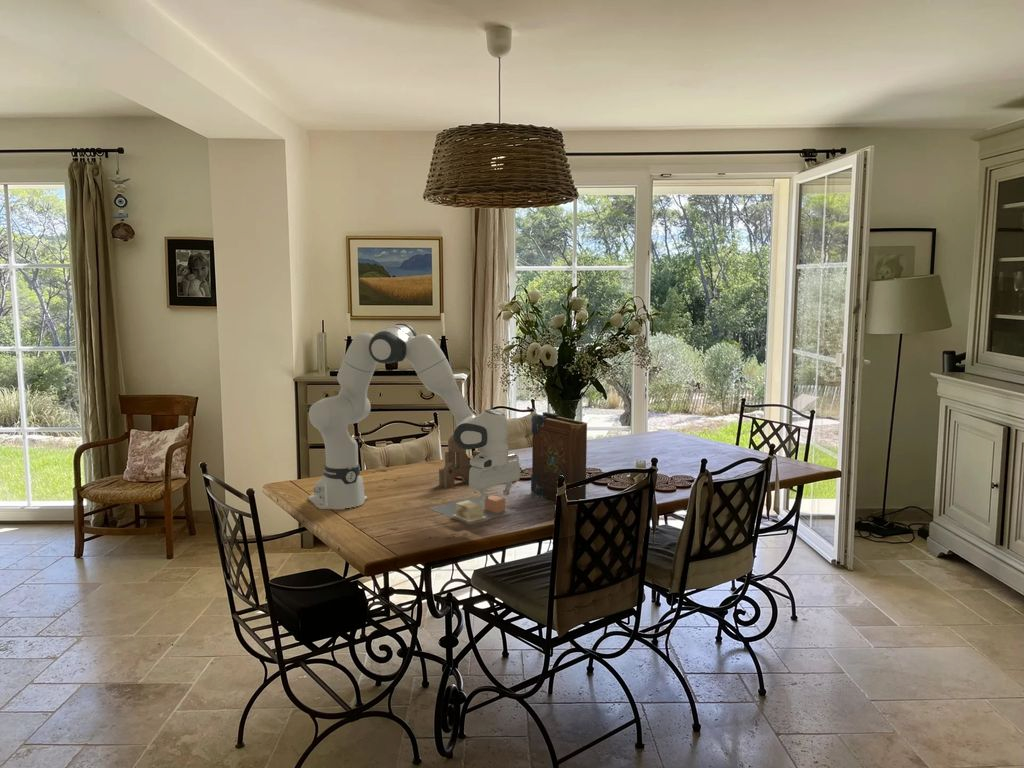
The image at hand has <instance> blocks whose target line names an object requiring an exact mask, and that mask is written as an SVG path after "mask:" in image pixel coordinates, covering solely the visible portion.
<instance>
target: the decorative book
mask: <svg viewBox="0 0 1024 768" xmlns="http://www.w3.org/2000/svg"><path fill="white" fill-rule="evenodd" d="M530 422H531V425H530V426H531V427H530V428H531V432H530V433H531V434H532V438H531V439H532V445H531V446H532V449H531V450H532V452H531V454H532V457H531V458H532V459H531V463H532V465H531V467H532V468H531V472H532V473H531V475H530V494H531V495H535V496H538V497H540V496H541V497H540V498H543V497H544V498H548V499H551V500H554V501H556V500H555V499H556V494H557V478H558V477H559V476H560V475H563V476H564V479H565V483H566V484H567V483H573V482H577V481H581V480H584V479H586V480H587V450H588V449H587V447H588V446H587V444H588V443H587V442H588V441H587V439H588V422H586V421H585V422H584V421H580V420H576V419H572V418H566V417H562V416H559V414H556V413H552V412H548V411H545V412H542V414H539V413H532V414H531V421H530ZM586 494H587V484H586V485H583V486H581V487H576V488H572V489H567V490H566V495H567V499H568V500H579V499H587V498H586Z"/></svg>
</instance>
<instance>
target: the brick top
mask: <svg viewBox="0 0 1024 768" xmlns="http://www.w3.org/2000/svg"><path fill="white" fill-rule="evenodd" d="M505 508H506V498H503V497H500V496H497V495H488V500H487V501H485V509H487V510H489V511H492V512H495V513H498V512H502V511H505Z"/></svg>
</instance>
